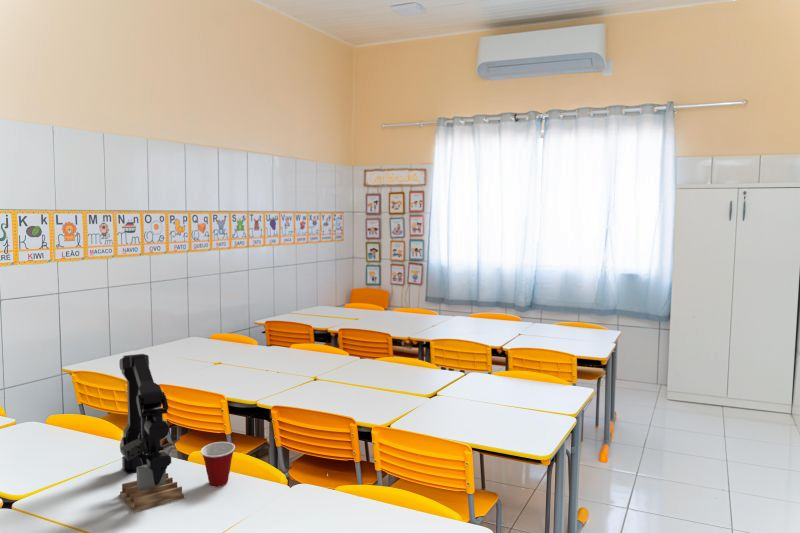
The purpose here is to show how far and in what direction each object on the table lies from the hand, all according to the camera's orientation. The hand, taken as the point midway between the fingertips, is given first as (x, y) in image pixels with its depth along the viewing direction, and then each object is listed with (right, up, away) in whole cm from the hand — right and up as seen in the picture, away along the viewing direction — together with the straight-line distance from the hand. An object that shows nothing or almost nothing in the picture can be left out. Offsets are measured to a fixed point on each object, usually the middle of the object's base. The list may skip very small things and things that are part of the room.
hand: (151, 479), depth 193 cm
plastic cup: (+17, -5, +11) cm, 21 cm away
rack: (0, -5, 0) cm, 5 cm away
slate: (0, -4, 0) cm, 4 cm away
